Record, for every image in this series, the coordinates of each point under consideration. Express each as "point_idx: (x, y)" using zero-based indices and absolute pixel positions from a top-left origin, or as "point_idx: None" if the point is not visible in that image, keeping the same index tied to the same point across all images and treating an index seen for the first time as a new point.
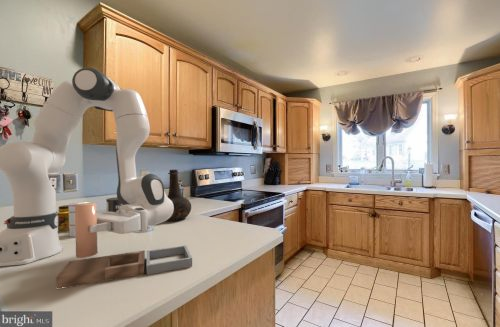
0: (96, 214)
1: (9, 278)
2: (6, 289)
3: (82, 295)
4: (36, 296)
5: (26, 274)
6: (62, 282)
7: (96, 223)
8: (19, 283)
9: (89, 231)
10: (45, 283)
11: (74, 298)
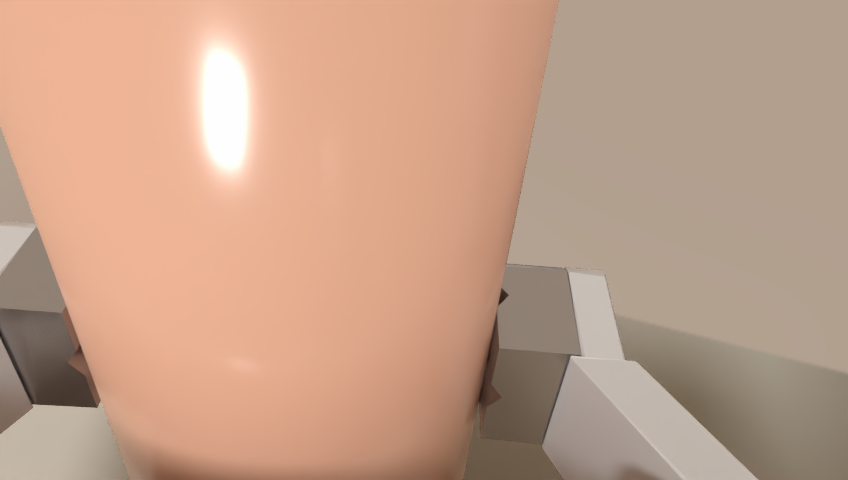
0: (38, 195)
1: (835, 388)
2: (628, 323)
3: (41, 455)
4: None
5: (843, 462)
6: None
7: (96, 380)
8: (672, 380)
9: None
10: (513, 445)
11: (70, 414)
